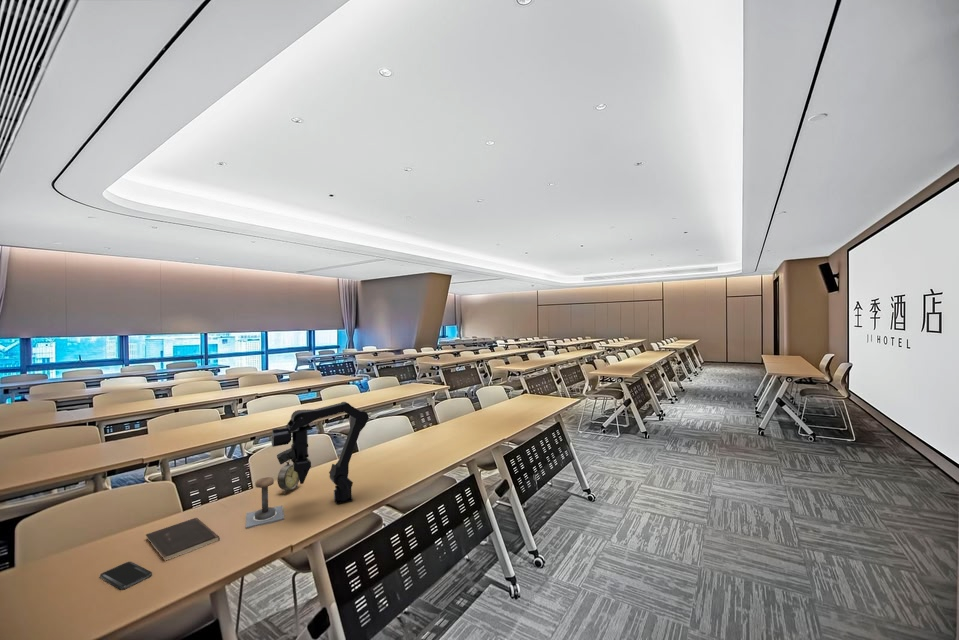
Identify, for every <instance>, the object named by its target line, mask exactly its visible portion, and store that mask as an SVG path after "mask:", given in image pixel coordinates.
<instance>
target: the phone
mask: <svg viewBox="0 0 959 640" xmlns="http://www.w3.org/2000/svg"><path fill="white" fill-rule="evenodd" d="M152 576H153V572H152V571H150V570H148V569H146V568H145V567H142V566H141V565H139V564H137V563H135V562H133V561H126V562H124V563H121V564H120V565H117V566H115V567H112V568H111V569H108V570H106V571H103V572H102V573H100V575H99V578H100V579H101V578H102V579H101V580H103V581H105V582H106V583H108V584H110V585H111V586H113V587H114V588H116V589H118V590H120V591H124V590H126V589H129V588H131V587H133V586H135V585H137V584H139V583H141V582H143V580H144V581H146V580H147V579H150V578H151V577H152Z"/></svg>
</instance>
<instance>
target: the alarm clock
mask: <svg viewBox="0 0 959 640" xmlns="http://www.w3.org/2000/svg"><path fill="white" fill-rule="evenodd" d="M290 462H291V459H290V460H288V461H286V462H285V463H286V464H285V465H283V466H282V467H281V469H280V470H279V471H278V474H277V478H276V479H277V485H278V487H279V488H280V489H281V490H283V491H284V493H283V495H284V496H285V495H286V493H287V491H288V490H289V491H293V490H294V489H295V488H297V487H298V485H299V483H300V480H299V477H298V473H297V472H296V471H294V469H293V463H291V464H290Z"/></svg>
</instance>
